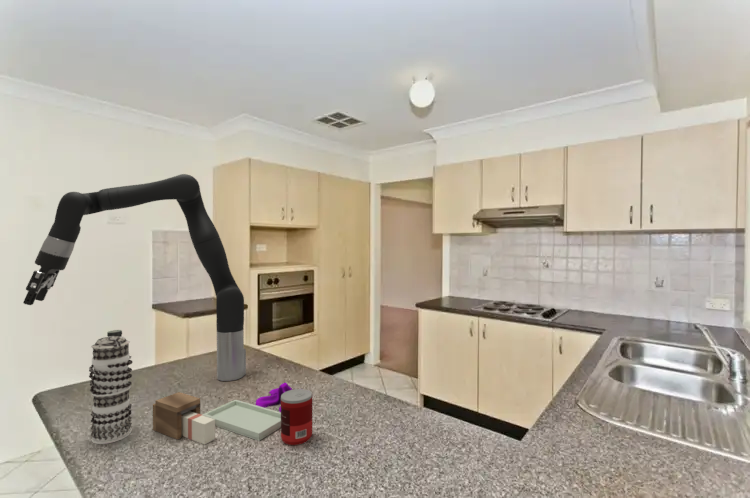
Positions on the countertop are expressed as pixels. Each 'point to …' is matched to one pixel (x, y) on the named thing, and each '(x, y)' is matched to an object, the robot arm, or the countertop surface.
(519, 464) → the countertop surface
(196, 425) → the pink-banded white block
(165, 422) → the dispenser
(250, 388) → the countertop surface
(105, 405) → the decorative candle
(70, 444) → the countertop surface
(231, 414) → the tray
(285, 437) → the canned food
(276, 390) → the cloth
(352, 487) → the countertop surface
